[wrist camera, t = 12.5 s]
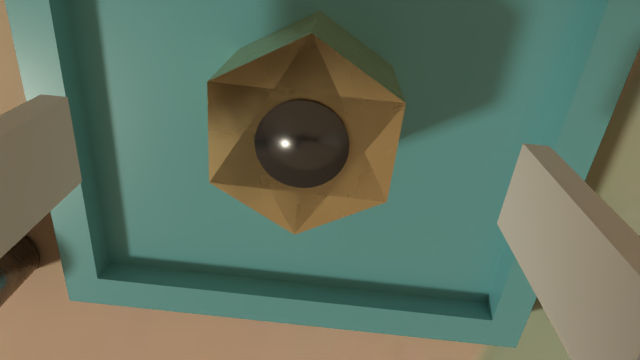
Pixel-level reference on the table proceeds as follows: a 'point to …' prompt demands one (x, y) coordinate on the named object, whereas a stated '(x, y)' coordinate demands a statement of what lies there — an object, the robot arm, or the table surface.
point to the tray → (345, 233)
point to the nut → (304, 125)
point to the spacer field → (16, 267)
